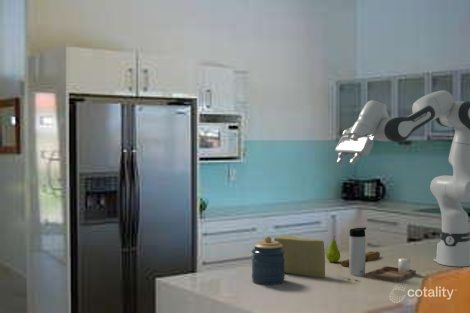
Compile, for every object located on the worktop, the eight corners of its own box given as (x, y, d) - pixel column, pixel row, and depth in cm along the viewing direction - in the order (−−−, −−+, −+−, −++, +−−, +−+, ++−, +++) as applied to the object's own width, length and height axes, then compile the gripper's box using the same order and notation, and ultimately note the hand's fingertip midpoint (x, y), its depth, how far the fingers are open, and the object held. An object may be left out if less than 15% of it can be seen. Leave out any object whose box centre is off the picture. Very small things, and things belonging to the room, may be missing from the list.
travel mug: (366, 279, 241) (366, 228, 240) (349, 278, 242) (349, 228, 241) (365, 275, 247) (366, 226, 246) (349, 275, 248) (349, 226, 248)
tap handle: (340, 260, 265) (375, 250, 287) (340, 267, 265) (375, 256, 287) (346, 261, 263) (381, 251, 285) (346, 268, 263) (381, 257, 285)
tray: (385, 272, 253) (385, 265, 253) (415, 276, 244) (415, 270, 244) (365, 280, 239) (365, 273, 239) (396, 285, 231) (396, 278, 231)
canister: (288, 278, 242) (288, 234, 242) (280, 286, 230) (279, 239, 229) (257, 276, 246) (257, 233, 246) (247, 283, 234) (247, 238, 234)
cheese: (330, 275, 247) (331, 239, 247) (317, 280, 240) (317, 242, 239) (286, 268, 262) (286, 233, 261) (273, 272, 254) (273, 236, 254)
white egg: (401, 272, 247) (401, 257, 247) (411, 274, 244) (411, 259, 244) (396, 274, 244) (396, 259, 244) (406, 275, 241) (406, 260, 241)
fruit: (323, 262, 274) (323, 235, 274) (331, 260, 279) (331, 234, 279) (335, 264, 270) (335, 237, 270) (343, 261, 275) (343, 235, 274)
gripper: (381, 139, 240) (365, 168, 237) (352, 138, 259) (337, 166, 256) (370, 130, 238) (354, 160, 235) (341, 130, 257) (326, 158, 254)
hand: (345, 163), depth 246 cm, fingers open, 8 cm apart
